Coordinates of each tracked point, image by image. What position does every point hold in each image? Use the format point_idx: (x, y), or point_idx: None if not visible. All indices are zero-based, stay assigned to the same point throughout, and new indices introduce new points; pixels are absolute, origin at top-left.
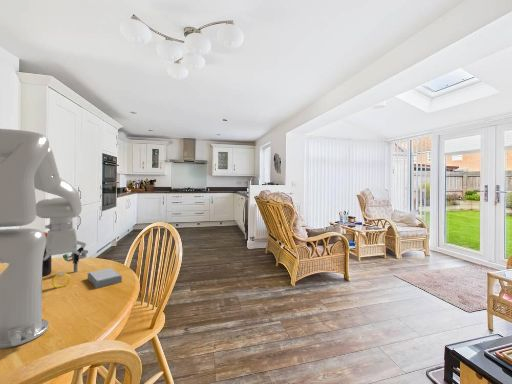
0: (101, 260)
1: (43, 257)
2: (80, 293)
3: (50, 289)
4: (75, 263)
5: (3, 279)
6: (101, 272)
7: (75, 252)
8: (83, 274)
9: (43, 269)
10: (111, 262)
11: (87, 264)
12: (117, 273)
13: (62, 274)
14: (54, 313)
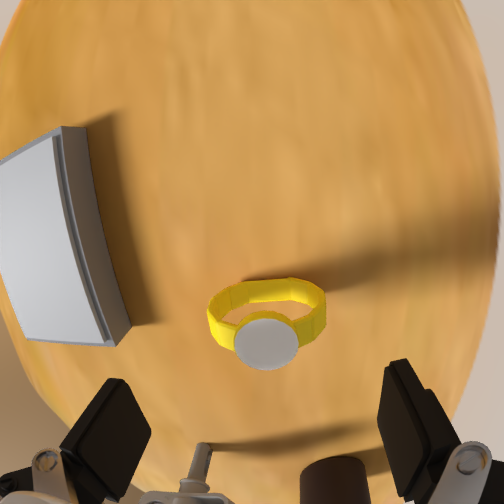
0: None
1: (484, 480)
2: (161, 87)
3: (327, 276)
4: (121, 382)
5: None
6: (44, 295)
7: (58, 484)
8: (164, 401)
9: (334, 483)
10: None
11: (170, 478)
12: None
13: (254, 318)
14: None
